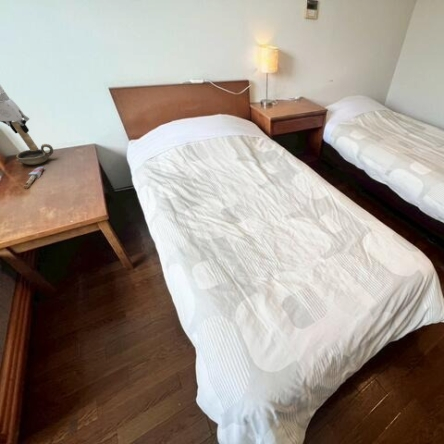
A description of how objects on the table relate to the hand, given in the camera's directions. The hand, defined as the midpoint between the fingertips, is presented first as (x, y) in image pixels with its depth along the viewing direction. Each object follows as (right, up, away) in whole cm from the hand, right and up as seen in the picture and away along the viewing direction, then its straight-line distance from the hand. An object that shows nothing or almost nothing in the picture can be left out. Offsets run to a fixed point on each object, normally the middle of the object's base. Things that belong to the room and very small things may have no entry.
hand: (22, 131), depth 137 cm
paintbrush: (+7, -26, +1) cm, 27 cm away
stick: (-1, -8, +7) cm, 11 cm away
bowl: (-2, -14, +13) cm, 19 cm away
